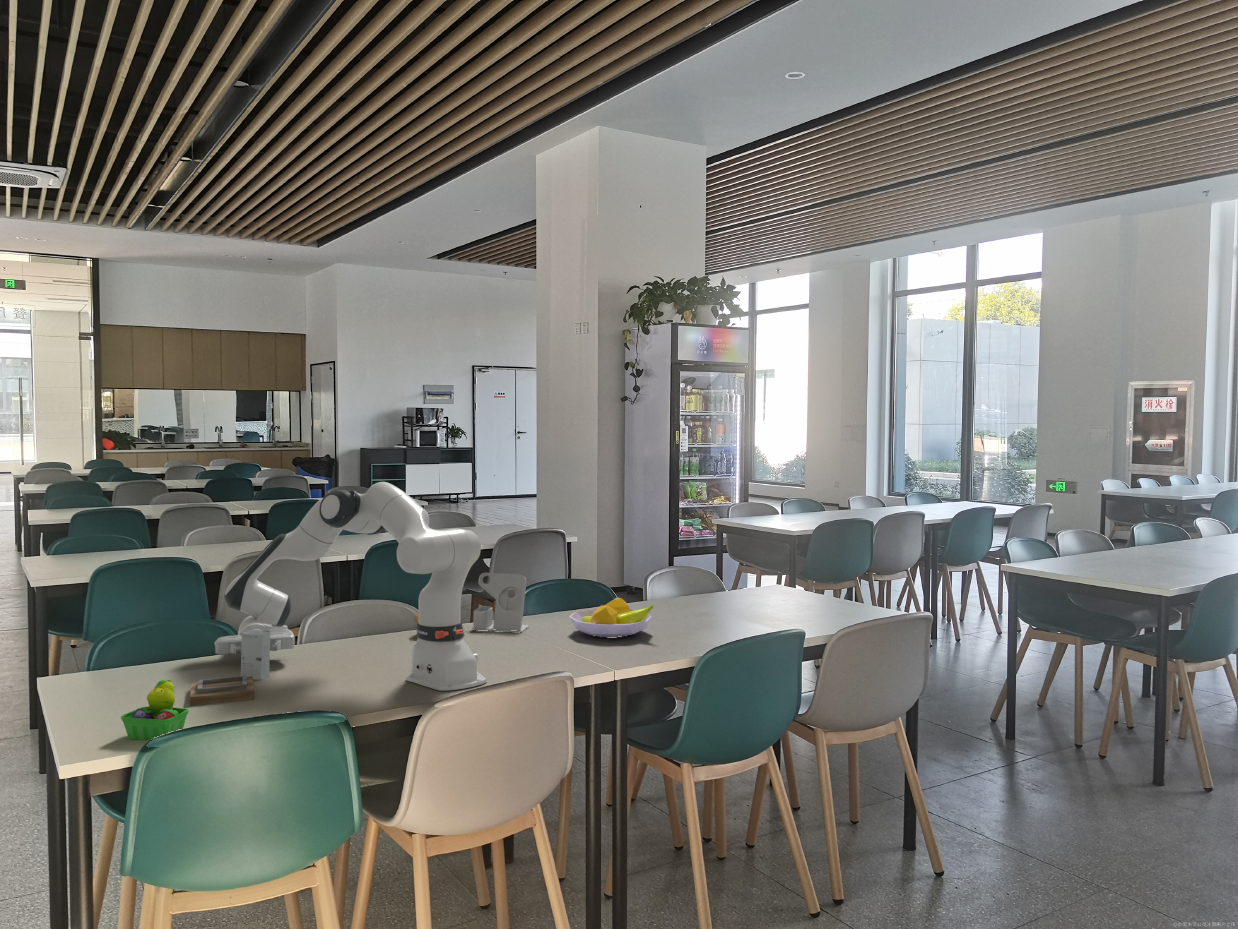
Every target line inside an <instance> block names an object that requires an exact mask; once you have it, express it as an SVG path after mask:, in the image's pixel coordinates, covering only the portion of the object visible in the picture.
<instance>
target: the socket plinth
mask: <svg viewBox="0 0 1238 929" xmlns="http://www.w3.org/2000/svg"><path fill="white" fill-rule="evenodd" d="M254 688H255V687H254V679H253V676H251V677H247V675H246V676H241V675H236V676H226V677H225V676H224V677H212V678H202V679H198V680H194V681H192V682H191V688H190V692H189V693H190V694H189V706H199V705H209V704H210V705H211V704H217V703H229V702H239V701H249V700H250V701H251V700H255V698H254V697H255V689H254Z"/></svg>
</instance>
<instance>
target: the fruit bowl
mask: <svg viewBox="0 0 1238 929" xmlns="http://www.w3.org/2000/svg"><path fill="white" fill-rule="evenodd" d="M653 608H654V605H653V604H651V605H650V606H648V607H644V608H640V609H635V610H634V609H633V610H632V609H631V608H630V606H629V604H628V603H627V602H626V601H625V600H624V599H623V598H622V597H621V598H620V597H615V598H614V599H613V600H610V601H609V602H607V603H606V604H604V605H603V604H602V605H599V607H596V608H591V609H584V610H583V609H582V610H579V611H575V612H572V614H571V615H569V616H568V618H569V619H570V621H571V623H572V625H573V626H574V628H575V629H576V630H578V631H580V632H582V633H584V634H585V635H588V634H589V635H588V636H590V635H595V636H601V637H600V638H602V637H618V636H625V637H627V636H626V635H631V636H633V635H635V634H638V633H639V632H641V631H643V630H645V629H647V628H648V626H649V623H650V620H651V618H652V617H653V616H652V615H650V613H651V610H652V609H653ZM632 634H633V635H632ZM595 636H594V637H595Z"/></svg>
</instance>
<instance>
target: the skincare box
mask: <svg viewBox="0 0 1238 929" xmlns="http://www.w3.org/2000/svg"><path fill="white" fill-rule="evenodd" d="M270 652H271V651H270V631H262V630H248V631H246V632H244V633H242V645H241V653H240V676H246V675H247V677H251V676H253V680H256V681H257V680H258V681H259V680H260V681H261V680H264V679H266V678H268V677H269V676H270V658H271V657H270V656H271V655H270V654H271V653H270Z"/></svg>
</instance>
